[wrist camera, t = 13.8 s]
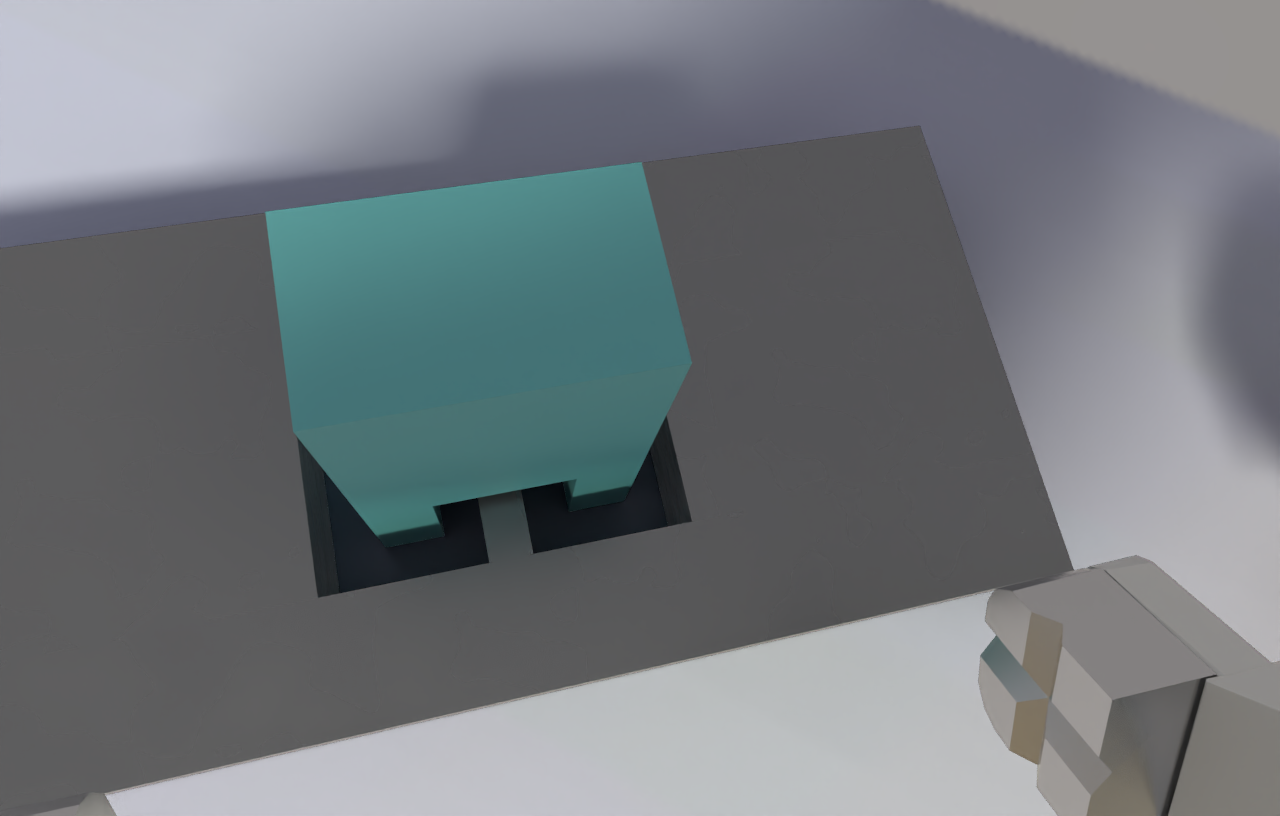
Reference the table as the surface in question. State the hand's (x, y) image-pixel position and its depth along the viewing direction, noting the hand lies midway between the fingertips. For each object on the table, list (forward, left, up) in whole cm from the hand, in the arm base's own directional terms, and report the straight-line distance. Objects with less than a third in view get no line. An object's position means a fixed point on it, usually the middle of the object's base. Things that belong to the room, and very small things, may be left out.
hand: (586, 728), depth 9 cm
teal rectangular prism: (0, -6, -11) cm, 12 cm away
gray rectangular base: (0, -6, -11) cm, 12 cm away
